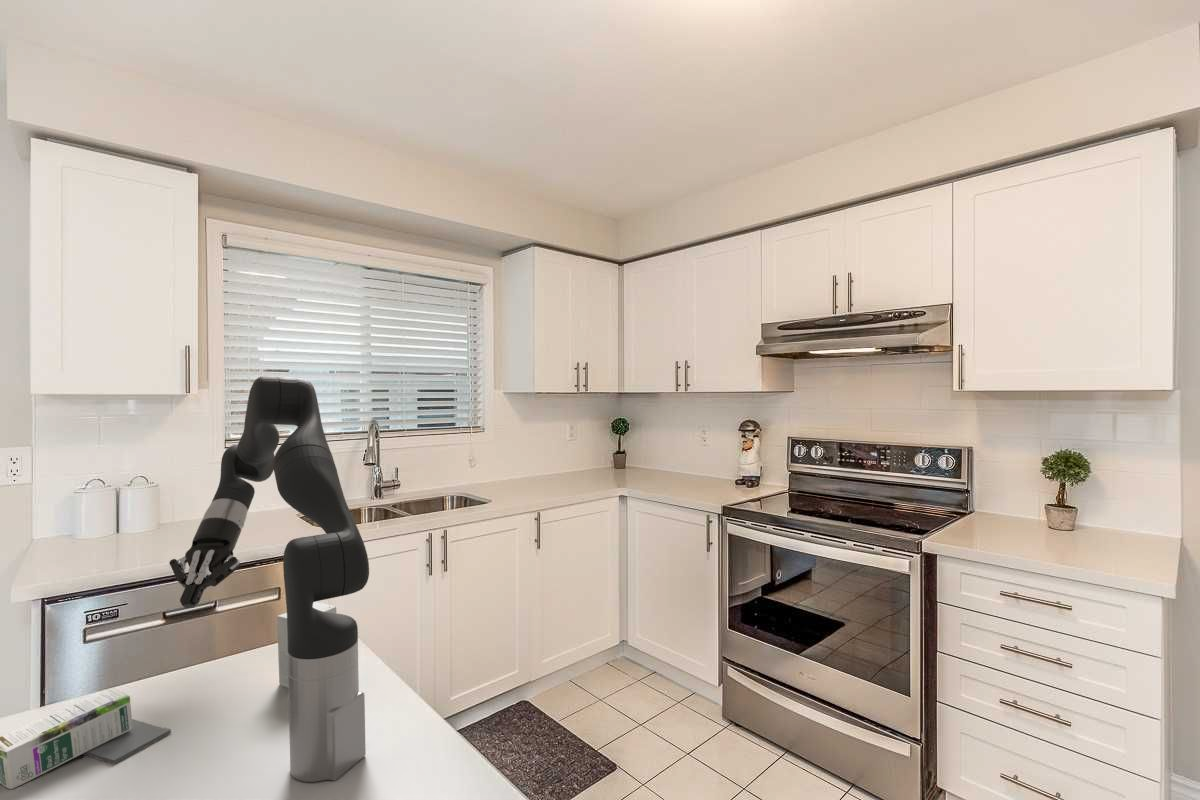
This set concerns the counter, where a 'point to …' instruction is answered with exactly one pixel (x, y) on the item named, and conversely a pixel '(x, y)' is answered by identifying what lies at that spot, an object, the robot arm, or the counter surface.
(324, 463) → the robot arm
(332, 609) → the small box
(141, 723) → the slate trivet
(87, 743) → the syrup box
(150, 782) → the counter surface
